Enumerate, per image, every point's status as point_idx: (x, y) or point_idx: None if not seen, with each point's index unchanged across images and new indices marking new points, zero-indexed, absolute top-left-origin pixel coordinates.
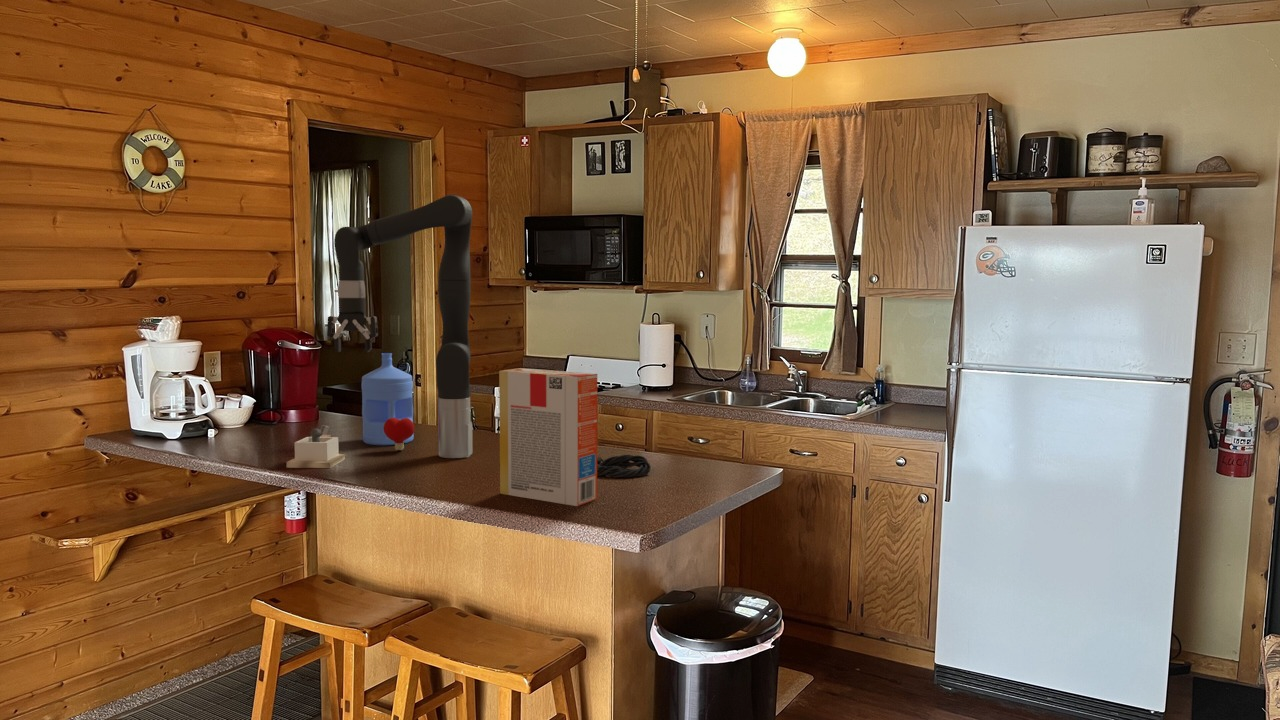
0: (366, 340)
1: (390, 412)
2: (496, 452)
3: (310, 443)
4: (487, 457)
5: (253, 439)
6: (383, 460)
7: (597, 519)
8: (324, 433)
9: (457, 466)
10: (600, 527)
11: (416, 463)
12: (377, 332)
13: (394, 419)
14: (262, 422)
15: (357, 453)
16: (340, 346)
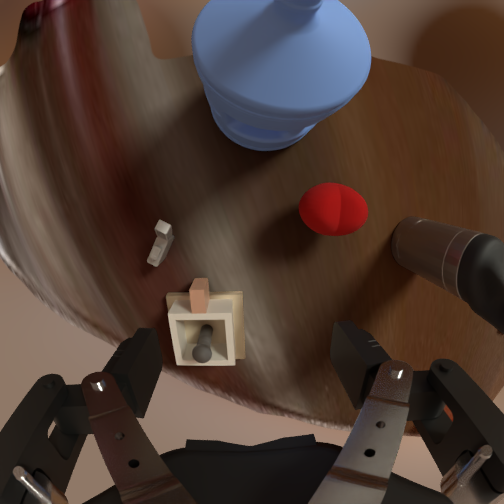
0: (362, 402)
1: (298, 130)
2: (453, 211)
3: (205, 364)
4: None
5: (31, 137)
6: (312, 291)
7: None
8: (168, 236)
9: (415, 314)
10: None
11: (366, 306)
12: (461, 382)
13: (333, 218)
14: (26, 26)
15: (244, 233)
16: (148, 351)
